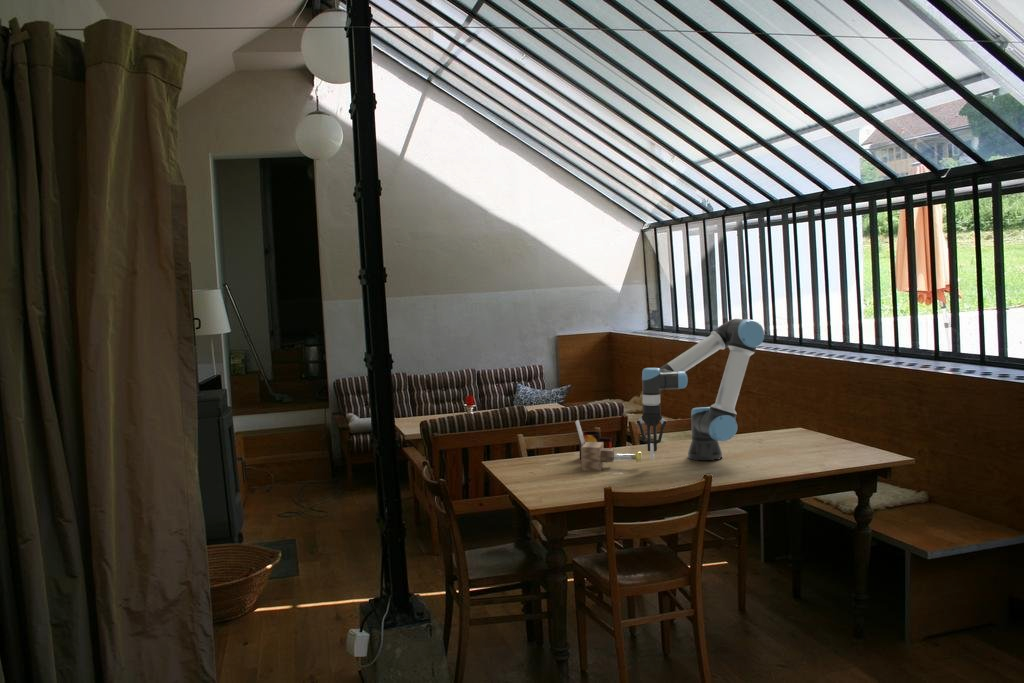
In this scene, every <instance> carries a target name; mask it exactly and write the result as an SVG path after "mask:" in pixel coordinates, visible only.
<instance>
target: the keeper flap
mask: <svg viewBox="0 0 1024 683" xmlns="http://www.w3.org/2000/svg"><path fill="white" fill-rule="evenodd" d="M574 423H575V426H576V430H577V432H578V433H577V434H578V438H579V437H580V440H581V444H582V443H584V442H585V440H584V437H583V433H582V432H583V430H582V426H581V422H580V420H579V419H577V420H576V421H575V422H574Z"/></svg>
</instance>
